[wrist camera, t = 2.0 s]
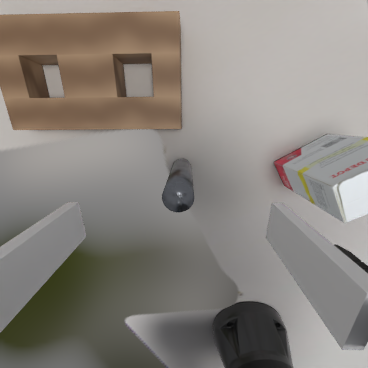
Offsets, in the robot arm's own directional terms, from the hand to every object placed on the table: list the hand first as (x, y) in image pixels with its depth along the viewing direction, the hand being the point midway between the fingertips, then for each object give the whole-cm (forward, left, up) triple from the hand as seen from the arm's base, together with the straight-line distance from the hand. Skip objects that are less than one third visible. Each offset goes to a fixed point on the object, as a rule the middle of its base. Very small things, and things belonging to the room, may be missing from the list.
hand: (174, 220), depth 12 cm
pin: (0, 0, -17) cm, 17 cm away
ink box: (+1, -19, -17) cm, 25 cm away
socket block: (+12, +11, -16) cm, 23 cm away
